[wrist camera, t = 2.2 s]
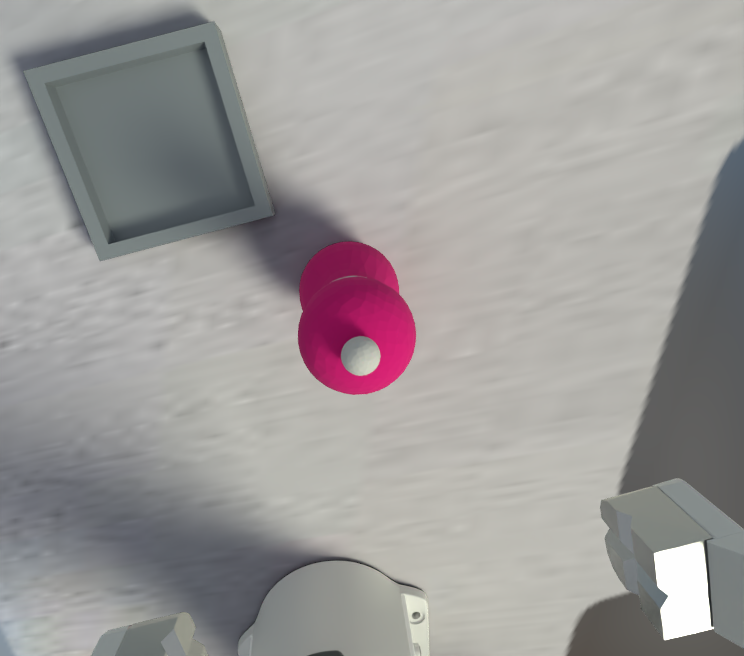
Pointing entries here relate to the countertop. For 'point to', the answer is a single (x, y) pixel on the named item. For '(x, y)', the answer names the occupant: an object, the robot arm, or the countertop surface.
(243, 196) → the slate tray
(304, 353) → the pepper mill
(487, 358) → the countertop surface
